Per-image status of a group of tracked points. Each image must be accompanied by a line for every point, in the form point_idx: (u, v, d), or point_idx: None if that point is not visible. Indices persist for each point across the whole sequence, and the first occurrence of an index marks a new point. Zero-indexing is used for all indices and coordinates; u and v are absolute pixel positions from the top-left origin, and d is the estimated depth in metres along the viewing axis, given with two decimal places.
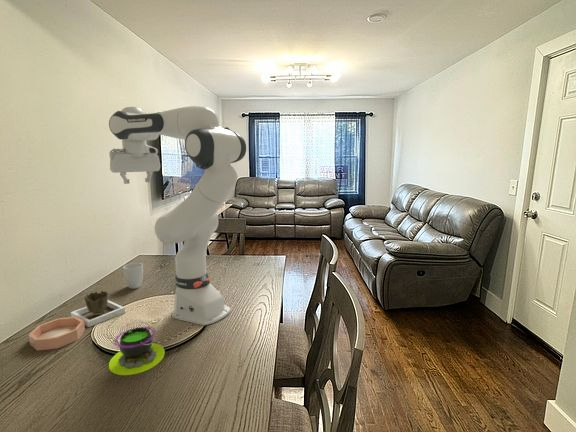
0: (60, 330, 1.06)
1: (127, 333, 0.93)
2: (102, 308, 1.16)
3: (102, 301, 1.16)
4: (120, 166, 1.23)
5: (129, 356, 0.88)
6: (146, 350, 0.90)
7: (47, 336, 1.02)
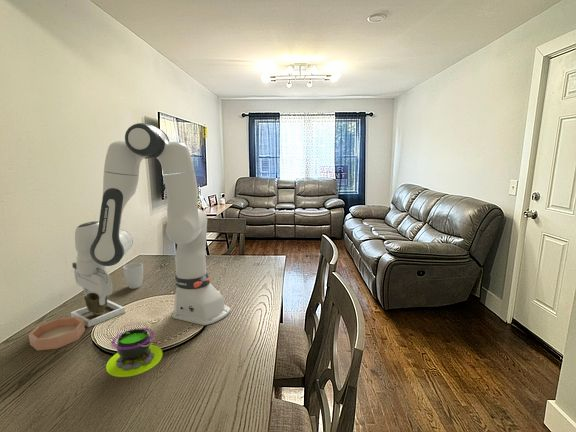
0: (60, 330, 1.06)
1: (125, 334, 0.92)
2: (102, 307, 1.16)
3: None
4: None
5: (126, 358, 0.87)
6: (144, 352, 0.90)
7: (47, 336, 1.02)
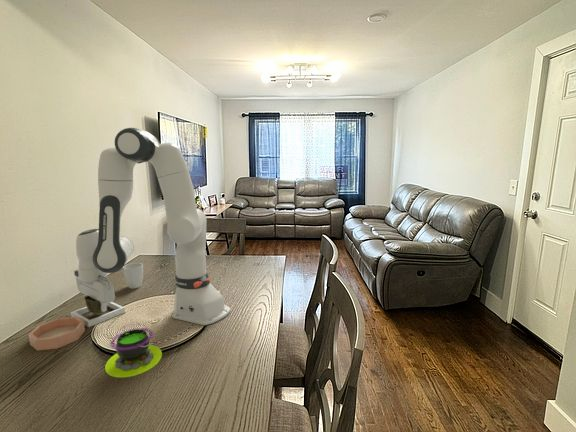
0: (60, 330, 1.06)
1: (124, 335, 0.92)
2: None
3: None
4: None
5: (126, 358, 0.87)
6: (143, 352, 0.89)
7: (47, 336, 1.02)
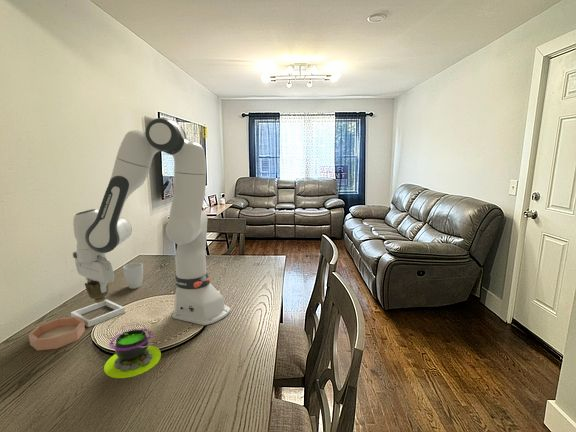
0: (60, 330, 1.06)
1: (123, 335, 0.92)
2: (103, 293, 1.15)
3: None
4: None
5: (125, 359, 0.87)
6: (142, 353, 0.89)
7: (47, 336, 1.02)
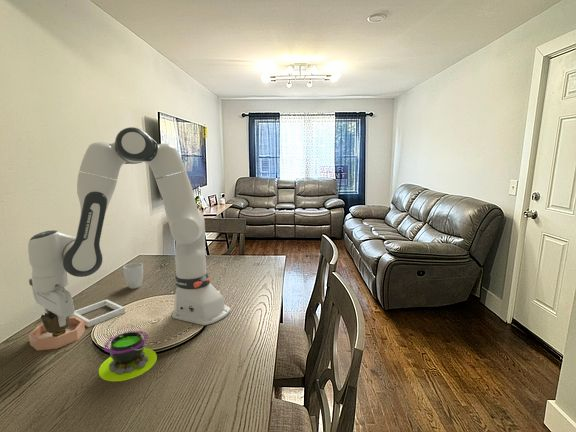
0: None
1: (118, 338, 0.91)
2: (62, 327, 1.01)
3: None
4: None
5: (119, 362, 0.86)
6: (137, 355, 0.88)
7: (47, 336, 1.02)
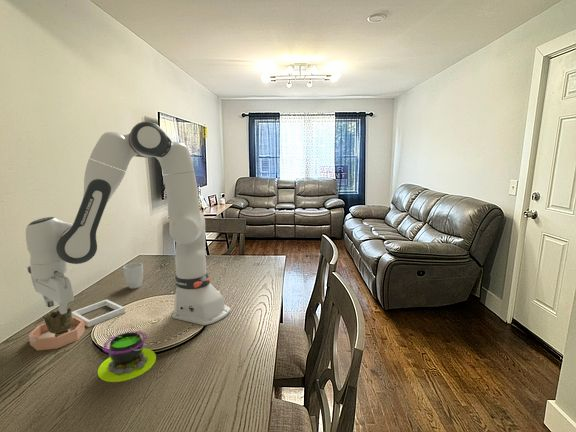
0: None
1: (117, 338, 0.90)
2: (65, 326, 1.00)
3: (65, 318, 1.00)
4: None
5: (118, 362, 0.86)
6: (136, 356, 0.88)
7: (47, 336, 1.02)
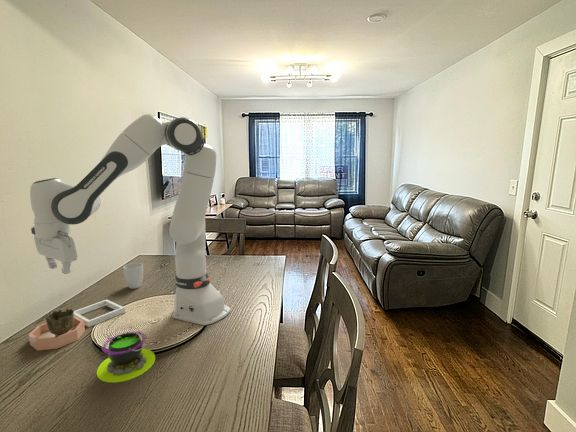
0: None
1: (116, 338, 0.90)
2: (66, 328, 1.00)
3: (66, 320, 1.00)
4: None
5: (118, 362, 0.85)
6: (135, 356, 0.87)
7: (47, 336, 1.02)
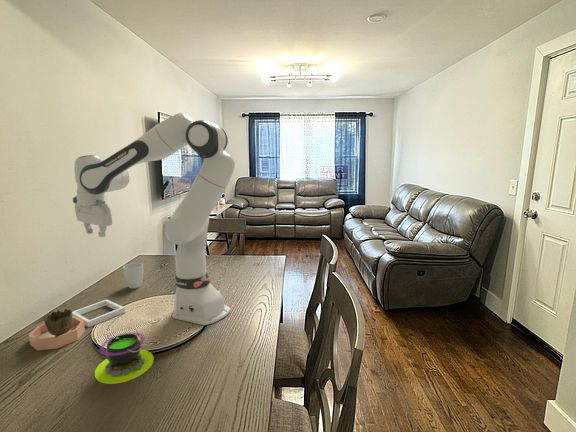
0: None
1: (114, 339, 0.90)
2: (65, 329, 1.00)
3: (65, 321, 0.99)
4: None
5: (116, 364, 0.85)
6: (134, 357, 0.87)
7: (47, 336, 1.02)
